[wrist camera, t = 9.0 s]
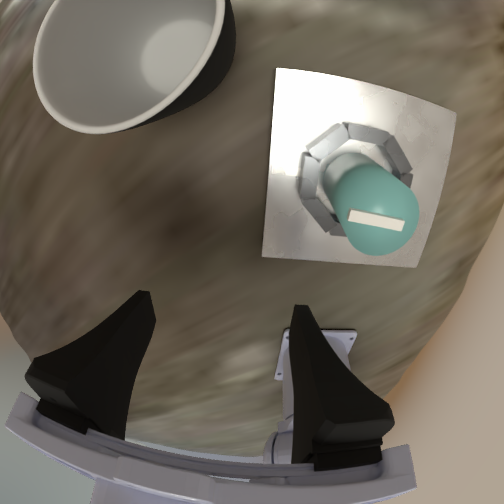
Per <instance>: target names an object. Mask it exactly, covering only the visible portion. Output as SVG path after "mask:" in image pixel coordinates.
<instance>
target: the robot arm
mask: <svg viewBox="0 0 504 504" xmlns="http://www.w3.org/2000/svg"><path fill="white" fill-rule="evenodd" d="M155 323H156V317H155V313H154V309H153V305H152V300H151V296H150V292H149V291H141V290H139V291H137V292H136V293H135V294H134V295H133V296H132V297H131V298H129V299H128V300H127V301H126V302H125V303H124V304H123V305H122V306H121V307H119V308H118V309H117V310H116V311H115V312H114V313H113V314H111V315H110V316H109V317H108V318H106V319H105V320H104V321H103V322H101V323H100V324H99V325H98V326H96V327H95V328H94V329H92V330H91V331H89V332H88V333H86V334H85V335H83V336H82V337H80V338H78V339H77V340H75V341H73V342H71V343H70V344H68V345H66V346H64V347H62V348H60V349H57V350H55V351H53V352H50V353H48V354H45V355H42V356H39V357H36V358H34V360H33V362H32V363H31V365H30V367H29V369H28V370H27V372H26V374H25V379H26V381H27V383H28V384H29V385H30V387H31V388H32V389H33V390H34V391H35V392H36V393H37V394H38V396H39V397H40V398H41V399H40V401H39V402H38V401H37V400H35V399H34V398H32V397H30V396H28V395H27V394H25V393H23V392H20V394H19V396H18V398H17V400H16V402H15V404H14V406H13V408H12V410H11V412H10V414H9V417H8V419H7V421H6V423H5V427H6V428H7V429H8V430H10V431H11V432H12V433H14V434H15V435H16V436H17V437H19V438H20V439H21V440H23V441H24V442H25V443H27V444H28V445H30V446H31V447H33V448H34V449H36V450H38V451H39V452H41V453H43V454H44V455H46V456H48V457H50V458H51V459H53V460H55V461H57V462H58V463H60V464H62V465H64V466H66V467H68V468H70V469H72V470H74V471H76V472H78V473H80V474H82V475H84V476H87V477H89V478H91V479H93V480H95V481H96V482H95V486H94V490H93V493H92V498H91V501H90V504H372V503H376V502H380V501H384V500H388V499H391V498H394V497H397V496H399V495H402V494H405V493H407V492H410V491H412V490H415V489H416V488H417V485H416V479H415V473H414V468H413V463H412V457H411V452H410V448H409V445H408V444H406V445H401V446H397V447H393V448H389V449H385V450H383V451H381V447H380V446H381V445H382V444H383V441H382V437H383V436H384V435H385V434H386V433H387V432H388V431H390V430H391V429H392V427H393V426H394V424H395V421H394V417H393V414H392V410H391V408H390V406H389V404H388V403H387V402H385V401H384V400H383V399H381V398H380V397H378V396H377V395H376V394H374V393H373V392H372V391H371V390H370V389H368V388H367V387H366V386H365V385H364V384H363V383H362V382H361V381H360V380H359V379H358V378H357V377H356V376H355V375H354V374H353V373H352V372H351V369H350V364H349V360H348V354H349V351H350V349H351V347H352V345H353V343H354V341H355V339H356V337H357V332H356V331H354V330H321V329H320V328H319V326H318V324H317V322H316V320H315V318H314V317H313V315H312V312H311V310H310V308H309V307H308V305H295V306H294V311H293V316H292V321H291V325H290V329H286V330H285V331H284V334H283V339H282V344H281V349H280V353H279V358H278V362H277V367H276V371H275V376H274V378H275V379H276V380H283V419H284V421H281V422H278V431H276V432H274V433H272V434H271V435H270V437H269V438H268V440H267V442H266V444H265V447H264V452H263V463H264V464H258V463H240V462H229V461H219V460H211V459H204V458H197V457H191V456H186V455H180V454H175V453H170V452H166V451H161V450H157V449H153V448H149V447H145V446H141V445H138V444H134V443H131V442H127V441H125V430H126V421H127V415H128V409H129V403H130V399H131V394H132V390H133V386H134V382H135V378H136V375H137V372H138V369H139V367H140V364H141V362H142V359H143V357H144V355H145V352H146V350H147V347H148V345H149V342H150V340H151V337H152V334H153V331H154V327H155ZM287 336H289V337H287ZM351 337H352V338H351ZM208 475H213V476H221V477H230V478H243V479H251V480H250V481H249V482H242V481H234V480H227V479H221V478H215V477H210V476H208Z"/></svg>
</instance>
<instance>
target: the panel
mask: <svg viewBox="0 0 504 504" xmlns="http://www.w3.org/2000/svg"><path fill="white" fill-rule="evenodd" d="M456 114H457V113H455V112H453V111H450V110H448V109H446V108H443V107H441V106H438V105H436V104H433V103H431V102H428V101H425V100H422V99H420V98H417V97H414V96H411V95H408V94H405V93H402V92H399V91H395V90H392V89H389V88H385V87H381V86H378V85H374V84H370V83H366V82H362V81H358V80H353V79H348V78H344V77H338V76H333V75H328V74H322V73H315V72H308V71H301V70H292V69H283V68H277V69H276V78H275V92H274V106H273V120H272V133H271V147H270V160H269V172H268V185H267V197H266V209H265V221H264V233H263V245H262V257H273V258H287V259H300V260H314V261H328V262H342V263H356V264H370V265H385V266H399V267H414V268H416V267H417V264H418V262H419V259H420V257H421V254H422V251H423V249H424V246H425V243H426V240H427V237H428V234H429V231H430V228H431V225H432V222H433V219H434V216H435V213H436V209H437V206H438V202H439V199H440V195H441V191H442V188H443V184H444V180H445V175H446V171H447V167H448V162H449V157H450V152H451V147H452V141H453V135H454V129H455V122H456ZM347 153H361V154H364V155H366V156H368V157H369V158H371V159H372V160H374V161H375V162H376V163H378V164H379V165H380V166H382V167H383V168H384V169H386V170H387V171H388V172H390V173H391V174H392V175H394V176H395V177H396V178H397V179H399V180H400V181H401V182H402V183H404V184H405V185H406V186H407V187H409V188H410V189H411V190H412V192H413V193H414V194H415V196H416V198H417V201H418V204H419V220H418V224H417V227H416V230H415V232H414V233H413V235H412V237H411V238H410V239H409V240H408V241H407V243H406V244H404V245H403V246H402V247H401V248H399V249H398V250H396V251H394V252H392V253H390V254H386V255H381V256H371V255H367V254H364V253H362V252H360V251H358V250H357V249H355V248H354V247H353V246H352V245H351V243H350V242H349V240H348V238H347V236H346V234H345V232H344V230H343V228H342V226H341V224H340V222H339V220H338V218H337V216H336V214H335V212H334V210H333V208H332V206H331V204H330V202H329V200H328V198H327V196H326V194H325V191H324V185H323V181H324V175H325V172H326V170H327V168H328V166H329V165H330V164H331V163H332V162H333V161H334V160H335V159H336V158H338V157H339V156H341V155H344V154H347Z"/></svg>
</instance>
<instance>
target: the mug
mask: <svg viewBox="0 0 504 504" xmlns="http://www.w3.org/2000/svg"><path fill="white" fill-rule="evenodd" d="M235 44H236V32H235V21H234V15H233V11H232V6H231V2H230V0H55V1H54V3H53V4H52V6H51V7H50V9H49V11H48V13H47V14H46V16H45V18H44V20H43V23H42V25H41V27H40V30H39V33H38V36H37V39H36V44H35V48H34V55H33V75H34V82H35V86H36V90H37V93H38V95H39V98H40V100H41V102H42V104H43V105H44V107H45V108H46V110H47V111H48V112H49V114H50V115H51V116H52V117H53V118H54V119H55V120H57V121H58V122H59V123H61V124H62V125H64V126H66V127H67V128H70V129H72V130H75V131H78V132H82V133H88V134H109V133H116V132H121V131H125V130H129V129H133V128H136V127H140V126H143V125H146V124H149V123H152V122H154V121H157V120H160V119H162V118H165V117H167V116H170V115H172V114H175V113H177V112H179V111H181V110H183V109H185V108H187V107H189V106H191V105H193V104H195V103H196V102H198V101H200V100H201V99H203V98H204V97H206V96H207V95H208V94H209V93H211V92H212V91H213V90H214V89H215V88H216V87H217V86H218V85H219V84H220V82H221V81H222V80H223V78H224V77H225V75H226V74H227V72H228V70H229V68H230V66H231V63H232V60H233V56H234V52H235Z"/></svg>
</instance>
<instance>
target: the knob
mask: <svg viewBox="0 0 504 504" xmlns="http://www.w3.org/2000/svg"><path fill="white" fill-rule="evenodd" d="M323 185H324V191H325V194H326V196H327V198H328V200H329V202H330V204H331V206H332V208H333V210H334V212H335V214H336V216H337V218H338V220H339V222H340V224H341V226H342V228H343V230H344V232H345V234H346V236H347V238H348V240H349V242H350V243H351V245H352V246H353V247H354V248H355V249H357V250H358V251H360V252H362V253H364V254H367V255H371V256H381V255H386V254H390V253H392V252H394V251H396V250H398V249H399V248H401V247H402V246H403V245H404V244H406V243H407V241H408V240H409V239H410V238H411V237H412V235H413V233H414V232H415V230H416V227H417V224H418V220H419V204H418V201H417V198H416V196H415V194H414V193H413V192H412V190H411V189H410V188H409V187H407V186H406V185H405V184H404V183H402V182H401V181H400V180H399V179H397V178H396V177H395V176H394V175H392V174H391V173H390V172H388V171H387V170H386V169H384V168H383V167H382V166H380V165H379V164H378V163H376V162H375V161H374V160H372V159H371V158H369V157H368V156H366V155H364V154H361V153H347V154H344V155H341V156H339V157H338V158H336V159H335V160H334V161H333V162H332V163H331V164H330V165H329V166H328V168H327V170H326V172H325V175H324V181H323Z"/></svg>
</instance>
